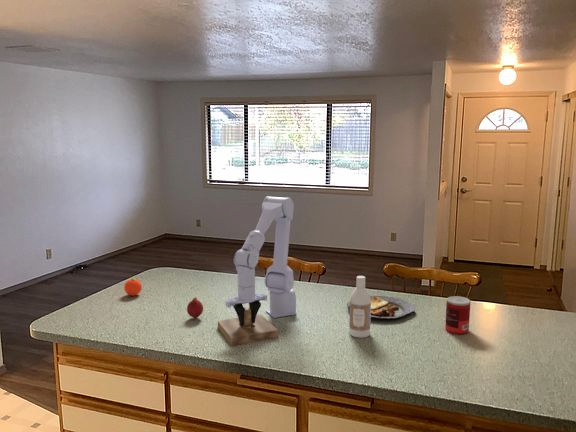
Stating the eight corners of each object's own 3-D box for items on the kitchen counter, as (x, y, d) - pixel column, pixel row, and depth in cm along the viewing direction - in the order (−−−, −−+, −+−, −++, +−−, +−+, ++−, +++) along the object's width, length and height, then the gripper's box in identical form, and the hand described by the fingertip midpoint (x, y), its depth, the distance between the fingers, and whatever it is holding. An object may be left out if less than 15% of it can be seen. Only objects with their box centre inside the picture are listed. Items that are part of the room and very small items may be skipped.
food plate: (383, 327, 174) (384, 318, 174) (334, 310, 192) (335, 301, 191) (424, 312, 191) (425, 303, 190) (376, 297, 208) (376, 289, 207)
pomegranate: (199, 321, 180) (199, 300, 179) (184, 320, 181) (184, 299, 180) (205, 316, 186) (205, 295, 185) (191, 315, 187) (190, 294, 186)
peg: (249, 329, 173) (248, 307, 172) (253, 332, 170) (252, 309, 169) (240, 331, 172) (239, 308, 171) (244, 334, 169) (243, 311, 168)
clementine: (130, 291, 215) (129, 275, 213) (145, 292, 214) (145, 276, 212) (121, 297, 207) (120, 280, 206) (137, 298, 206) (136, 281, 205)
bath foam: (347, 336, 167) (348, 279, 163) (351, 329, 173) (352, 273, 170) (368, 339, 165) (369, 280, 161) (371, 331, 171) (372, 274, 168)
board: (260, 320, 181) (260, 314, 181) (278, 337, 167) (278, 330, 166) (217, 327, 175) (217, 321, 174) (231, 345, 160) (231, 338, 160)
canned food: (468, 327, 175) (470, 297, 173) (468, 336, 167) (470, 304, 165) (445, 324, 177) (447, 294, 175) (444, 333, 170) (446, 302, 168)
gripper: (260, 278, 175) (261, 315, 177) (221, 285, 168) (222, 323, 170) (269, 284, 169) (270, 322, 171) (229, 290, 162) (230, 330, 164)
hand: (247, 323), depth 170 cm, fingers closed on peg, 3 cm apart
